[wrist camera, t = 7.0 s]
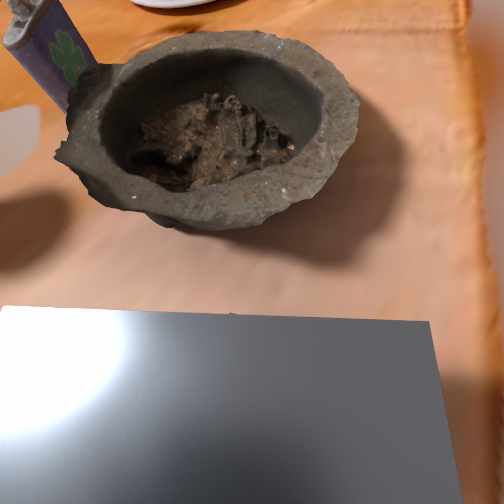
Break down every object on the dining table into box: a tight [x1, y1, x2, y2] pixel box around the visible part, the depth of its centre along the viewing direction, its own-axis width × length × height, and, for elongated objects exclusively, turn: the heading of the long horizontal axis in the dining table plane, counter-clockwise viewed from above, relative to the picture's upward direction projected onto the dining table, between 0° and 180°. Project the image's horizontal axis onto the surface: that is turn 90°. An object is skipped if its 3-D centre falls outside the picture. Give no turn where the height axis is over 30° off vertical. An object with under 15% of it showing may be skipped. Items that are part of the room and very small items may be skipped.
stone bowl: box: [53, 30, 360, 231], centre depth 25 cm, size 25×25×9 cm
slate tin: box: [0, 306, 464, 504], centre depth 8 cm, size 6×6×12 cm
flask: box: [0, 0, 98, 115], centre depth 31 cm, size 10×3×12 cm, turn 176°
